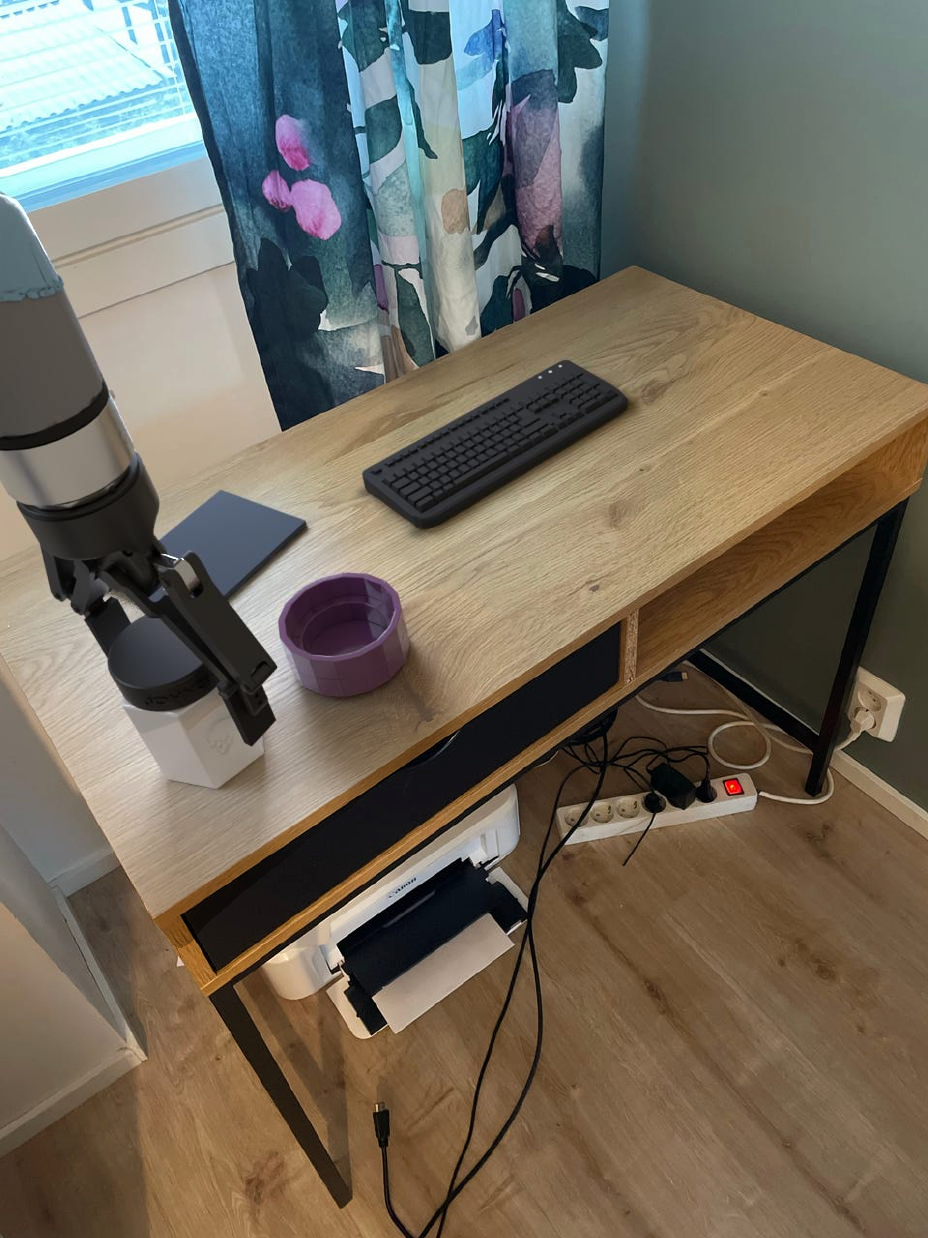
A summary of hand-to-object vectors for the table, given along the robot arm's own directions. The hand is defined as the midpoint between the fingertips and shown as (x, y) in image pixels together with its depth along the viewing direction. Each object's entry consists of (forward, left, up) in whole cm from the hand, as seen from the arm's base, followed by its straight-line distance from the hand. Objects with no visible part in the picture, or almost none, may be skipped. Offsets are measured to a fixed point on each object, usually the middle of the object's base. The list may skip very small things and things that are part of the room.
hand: (194, 697), depth 68 cm
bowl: (+13, -4, -6) cm, 15 cm away
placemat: (+17, +17, -6) cm, 25 cm away
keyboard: (+45, 0, -6) cm, 45 cm away
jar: (0, 0, -6) cm, 6 cm away
